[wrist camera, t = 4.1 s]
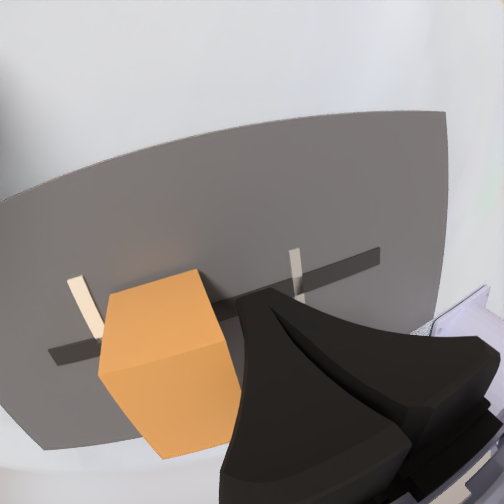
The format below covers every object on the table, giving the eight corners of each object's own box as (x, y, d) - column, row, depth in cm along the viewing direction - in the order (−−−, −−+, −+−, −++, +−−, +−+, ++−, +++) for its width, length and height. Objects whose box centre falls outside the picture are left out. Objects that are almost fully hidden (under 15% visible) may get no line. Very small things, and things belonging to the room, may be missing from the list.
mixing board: (417, 307, 17) (434, 319, 16) (46, 430, 12) (44, 451, 11) (423, 110, 12) (446, 111, 11) (-70, 241, 7) (-89, 254, 6)
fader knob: (223, 358, 11) (255, 433, 8) (151, 379, 11) (162, 459, 7) (196, 268, 10) (225, 340, 6) (109, 294, 9) (97, 375, 6)
